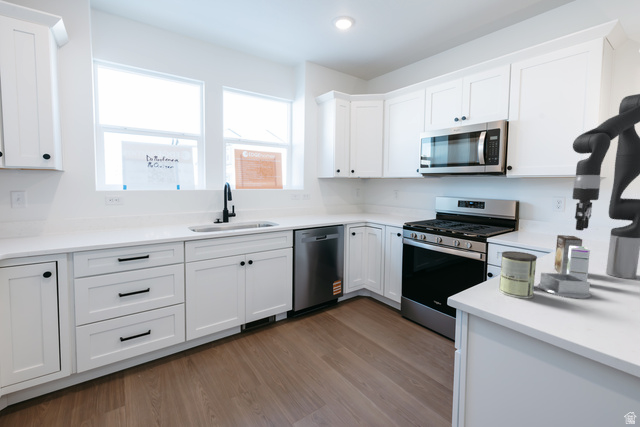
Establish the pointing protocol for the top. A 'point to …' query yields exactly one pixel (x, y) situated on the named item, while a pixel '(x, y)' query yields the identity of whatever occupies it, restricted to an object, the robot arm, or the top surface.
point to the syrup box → (578, 261)
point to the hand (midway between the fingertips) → (581, 229)
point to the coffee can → (517, 274)
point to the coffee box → (564, 251)
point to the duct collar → (564, 285)
